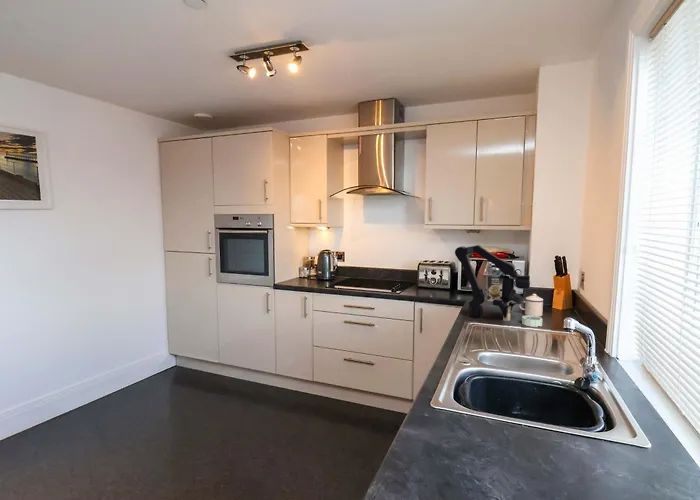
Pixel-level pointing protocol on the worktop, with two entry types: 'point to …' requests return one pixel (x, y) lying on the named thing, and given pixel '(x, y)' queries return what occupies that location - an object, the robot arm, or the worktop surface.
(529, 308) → the teacup with lid
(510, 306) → the wooden square beam
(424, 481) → the worktop surface
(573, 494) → the worktop surface
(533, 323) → the light green piece
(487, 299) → the coffee box
